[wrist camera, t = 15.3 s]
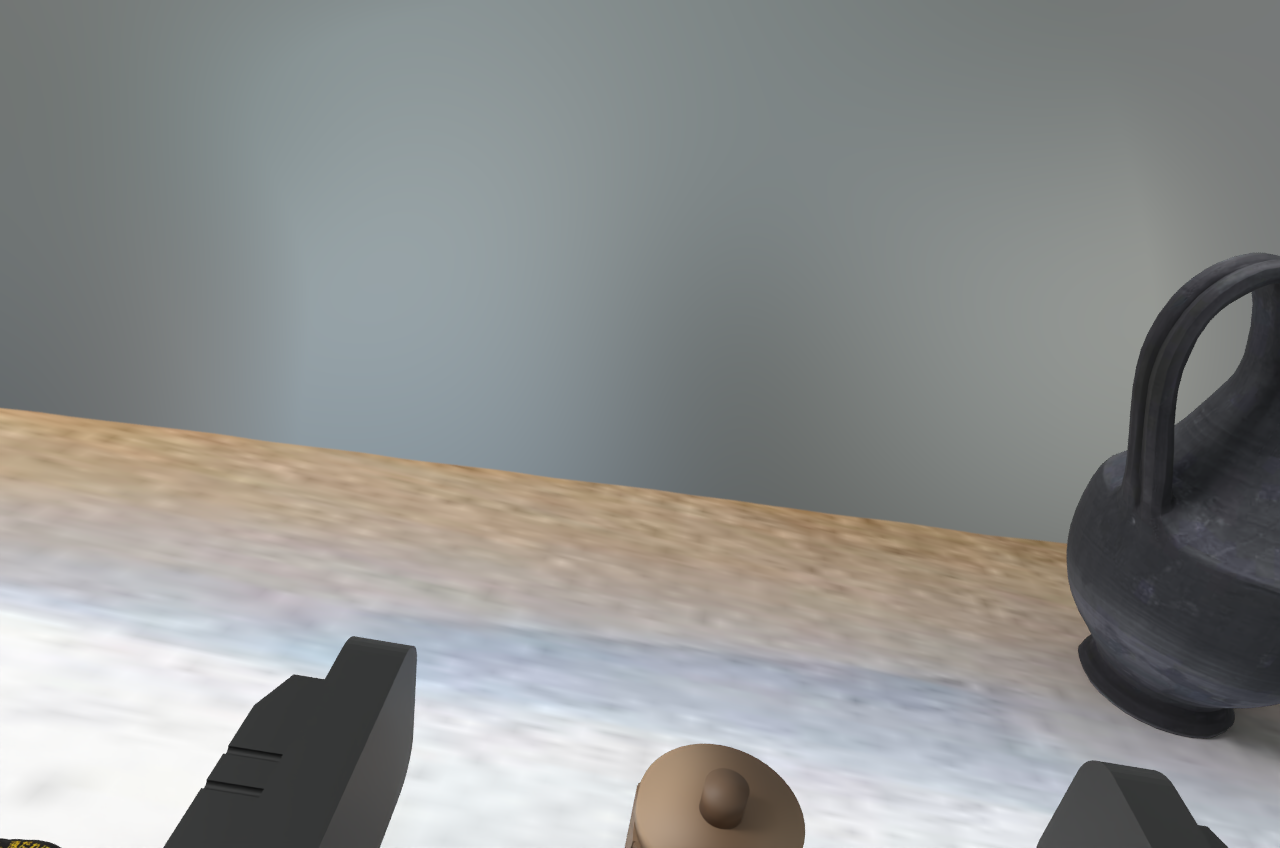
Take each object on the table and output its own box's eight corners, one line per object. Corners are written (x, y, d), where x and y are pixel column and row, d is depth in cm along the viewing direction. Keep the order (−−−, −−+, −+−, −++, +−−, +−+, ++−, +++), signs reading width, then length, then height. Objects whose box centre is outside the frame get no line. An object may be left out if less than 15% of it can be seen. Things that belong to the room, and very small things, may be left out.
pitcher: (1363, 777, 53) (1685, 331, 40) (1094, 809, 48) (1367, 303, 35) (1156, 603, 68) (1341, 237, 55) (932, 612, 62) (1081, 207, 50)
